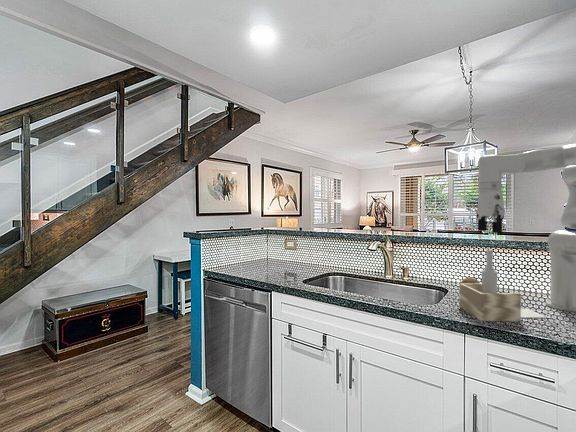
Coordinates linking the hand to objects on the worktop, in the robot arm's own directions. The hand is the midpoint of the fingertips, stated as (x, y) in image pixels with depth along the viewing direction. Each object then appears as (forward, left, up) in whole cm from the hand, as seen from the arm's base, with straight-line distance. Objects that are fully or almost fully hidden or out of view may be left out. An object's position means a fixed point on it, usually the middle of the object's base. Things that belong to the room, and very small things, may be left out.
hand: (489, 231), depth 122 cm
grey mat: (-13, 0, -32) cm, 35 cm away
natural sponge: (-3, -19, -32) cm, 38 cm away
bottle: (0, 0, -32) cm, 32 cm away
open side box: (0, 0, -32) cm, 32 cm away
